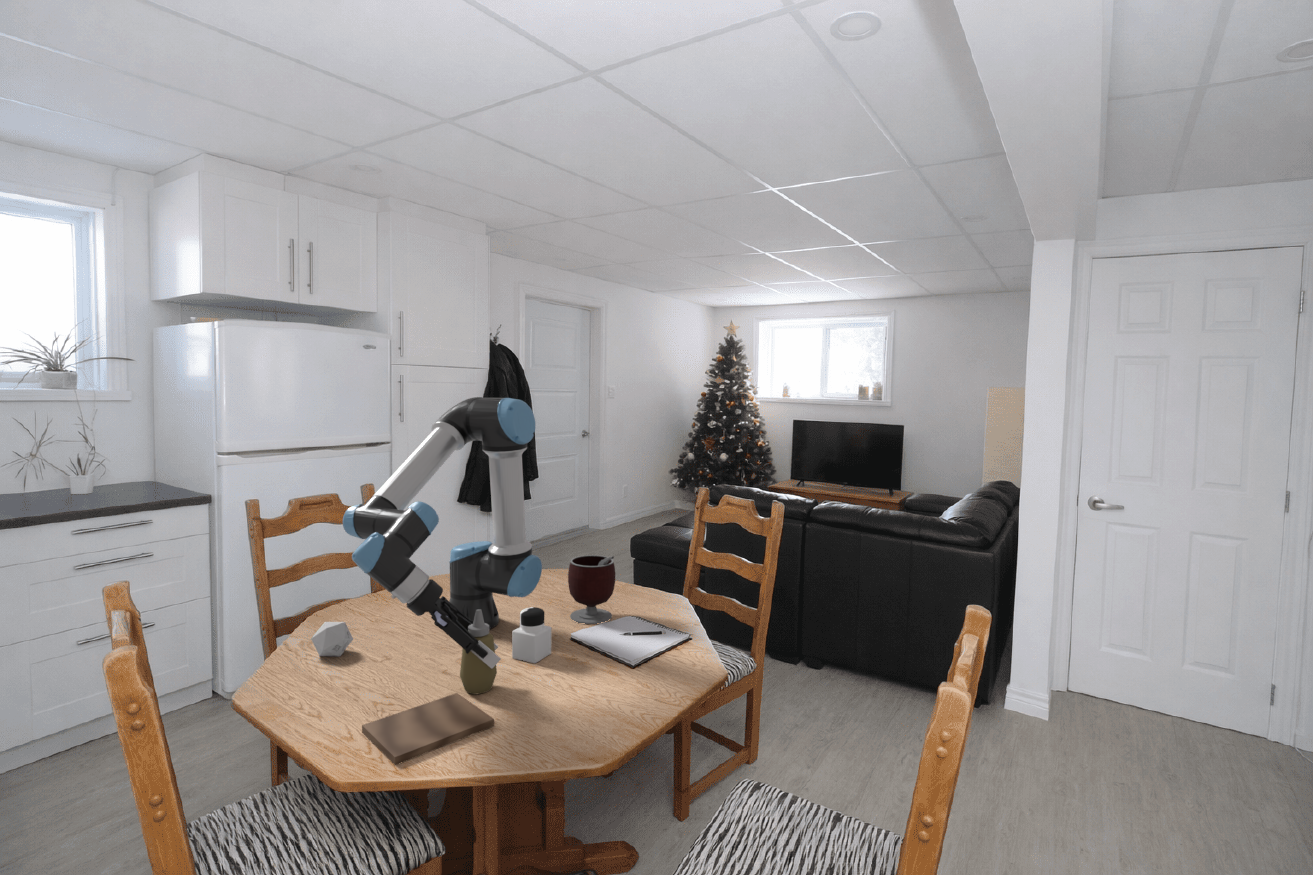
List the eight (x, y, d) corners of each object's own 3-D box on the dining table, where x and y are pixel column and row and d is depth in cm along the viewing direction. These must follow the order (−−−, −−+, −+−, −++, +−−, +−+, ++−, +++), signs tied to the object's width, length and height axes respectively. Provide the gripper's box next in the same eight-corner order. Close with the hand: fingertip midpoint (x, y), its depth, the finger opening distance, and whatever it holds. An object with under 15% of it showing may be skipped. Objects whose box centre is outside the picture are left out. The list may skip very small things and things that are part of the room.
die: (325, 666, 157) (351, 631, 159) (297, 646, 158) (324, 611, 160) (340, 665, 164) (365, 631, 167) (314, 645, 166) (339, 612, 168)
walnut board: (457, 699, 141) (457, 692, 140) (494, 725, 130) (494, 718, 130) (362, 732, 126) (362, 725, 126) (394, 765, 116) (394, 757, 116)
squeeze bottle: (463, 680, 150) (464, 604, 148) (499, 680, 150) (500, 604, 149) (455, 697, 142) (456, 616, 140) (493, 696, 142) (494, 616, 141)
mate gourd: (557, 617, 192) (558, 550, 191) (591, 606, 203) (593, 542, 201) (594, 630, 182) (595, 560, 181) (628, 618, 193) (629, 552, 191)
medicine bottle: (551, 653, 166) (552, 607, 165) (535, 664, 160) (535, 616, 159) (528, 648, 169) (529, 603, 168) (511, 658, 163) (511, 611, 162)
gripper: (406, 590, 149) (480, 652, 155) (401, 619, 130) (485, 688, 137) (431, 566, 150) (503, 629, 156) (429, 591, 132) (511, 661, 138)
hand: (494, 656), depth 146 cm, fingers closed on squeeze bottle, 6 cm apart
